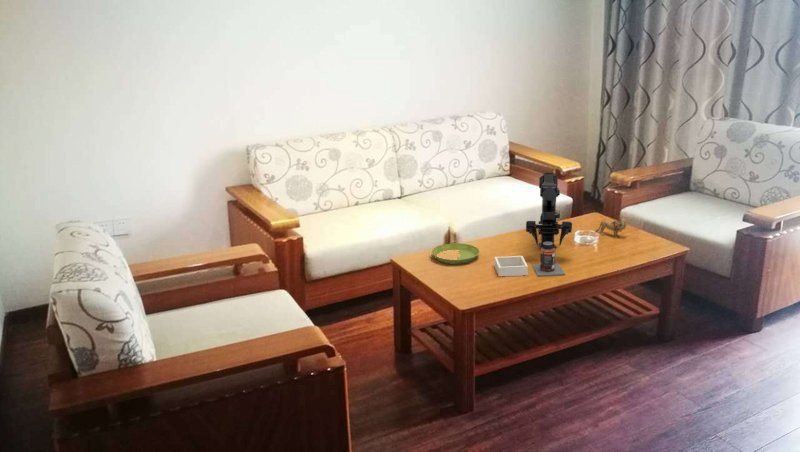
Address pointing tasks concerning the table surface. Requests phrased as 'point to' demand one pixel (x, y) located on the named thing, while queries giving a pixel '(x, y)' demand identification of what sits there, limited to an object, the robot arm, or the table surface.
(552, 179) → the robot arm
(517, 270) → the white hollow square frame
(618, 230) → the lion figurine
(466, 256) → the saucer
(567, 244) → the table surface
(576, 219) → the table surface
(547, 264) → the supplement bottle
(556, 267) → the rubber mat
